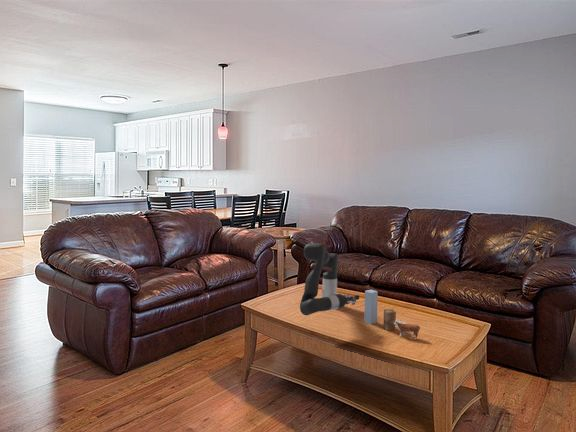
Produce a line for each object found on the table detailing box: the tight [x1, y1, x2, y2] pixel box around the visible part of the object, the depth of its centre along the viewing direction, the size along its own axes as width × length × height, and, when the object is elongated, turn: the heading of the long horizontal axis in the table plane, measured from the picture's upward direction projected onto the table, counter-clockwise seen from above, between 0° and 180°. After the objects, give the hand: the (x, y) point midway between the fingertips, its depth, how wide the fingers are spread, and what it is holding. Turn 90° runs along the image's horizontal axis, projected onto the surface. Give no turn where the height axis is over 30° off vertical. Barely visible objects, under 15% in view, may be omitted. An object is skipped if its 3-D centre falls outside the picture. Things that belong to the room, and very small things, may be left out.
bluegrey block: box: [363, 289, 379, 325], centre depth 236 cm, size 5×5×18 cm
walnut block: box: [382, 308, 397, 331], centre depth 226 cm, size 5×5×10 cm
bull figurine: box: [394, 319, 421, 340], centre depth 215 cm, size 4×13×8 cm, turn 59°
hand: (358, 297), depth 229 cm, fingers closed
